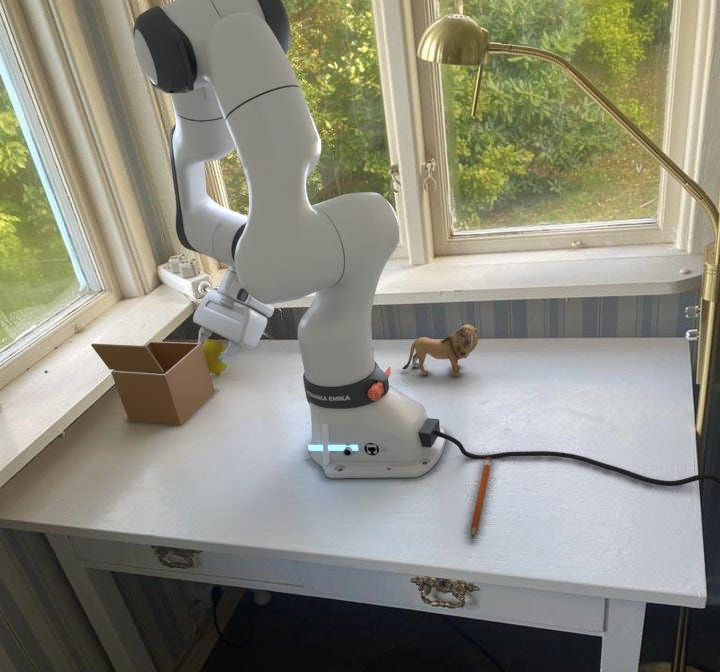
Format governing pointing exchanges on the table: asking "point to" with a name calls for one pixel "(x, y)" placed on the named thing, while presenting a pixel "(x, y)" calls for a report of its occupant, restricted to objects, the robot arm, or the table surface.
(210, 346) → the lemon
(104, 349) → the flap
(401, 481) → the table surface
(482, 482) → the pencil
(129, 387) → the carton
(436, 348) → the lion figurine
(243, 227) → the robot arm
